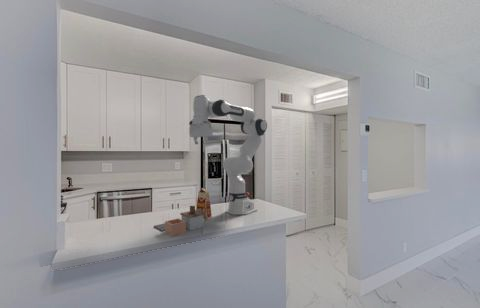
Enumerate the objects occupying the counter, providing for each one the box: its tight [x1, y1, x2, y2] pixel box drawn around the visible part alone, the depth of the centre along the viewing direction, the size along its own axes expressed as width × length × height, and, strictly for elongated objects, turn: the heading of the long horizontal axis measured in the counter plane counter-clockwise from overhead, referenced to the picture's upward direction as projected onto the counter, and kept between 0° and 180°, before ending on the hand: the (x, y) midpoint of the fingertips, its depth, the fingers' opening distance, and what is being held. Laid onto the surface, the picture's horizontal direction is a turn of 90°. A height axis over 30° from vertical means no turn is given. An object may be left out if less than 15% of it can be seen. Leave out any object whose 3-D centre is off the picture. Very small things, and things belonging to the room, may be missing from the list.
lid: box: [179, 205, 205, 218], centre depth 137 cm, size 10×10×5 cm
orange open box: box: [164, 218, 187, 237], centre depth 128 cm, size 8×8×6 cm
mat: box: [153, 222, 165, 232], centre depth 137 cm, size 11×11×1 cm
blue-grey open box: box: [181, 215, 204, 231], centre depth 137 cm, size 9×9×7 cm
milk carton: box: [195, 187, 213, 221], centre depth 155 cm, size 9×9×20 cm
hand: (200, 144), depth 146 cm, fingers open, 8 cm apart
